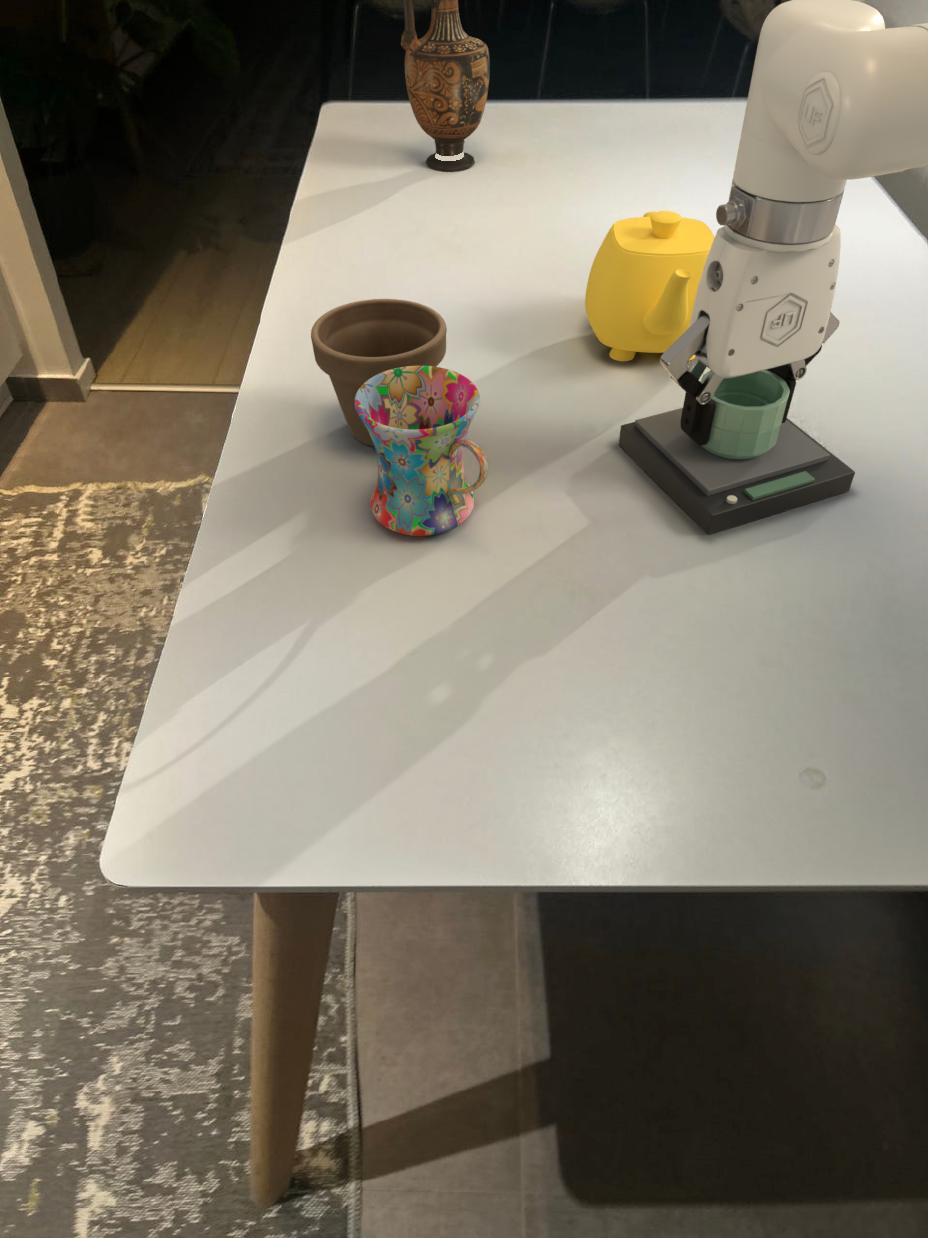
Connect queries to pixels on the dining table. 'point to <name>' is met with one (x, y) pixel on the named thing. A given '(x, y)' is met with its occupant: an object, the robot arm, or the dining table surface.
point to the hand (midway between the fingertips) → (732, 424)
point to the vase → (445, 81)
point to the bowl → (747, 415)
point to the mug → (421, 447)
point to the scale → (733, 472)
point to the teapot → (646, 282)
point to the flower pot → (374, 346)
